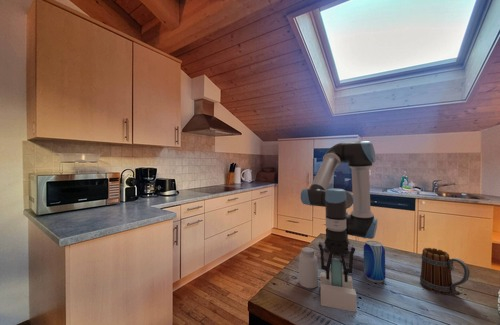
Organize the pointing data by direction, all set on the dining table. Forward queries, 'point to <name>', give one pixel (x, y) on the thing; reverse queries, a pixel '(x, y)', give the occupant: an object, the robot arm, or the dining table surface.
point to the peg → (336, 272)
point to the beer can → (374, 261)
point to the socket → (338, 294)
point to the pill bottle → (308, 268)
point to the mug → (440, 271)
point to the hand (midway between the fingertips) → (336, 288)
